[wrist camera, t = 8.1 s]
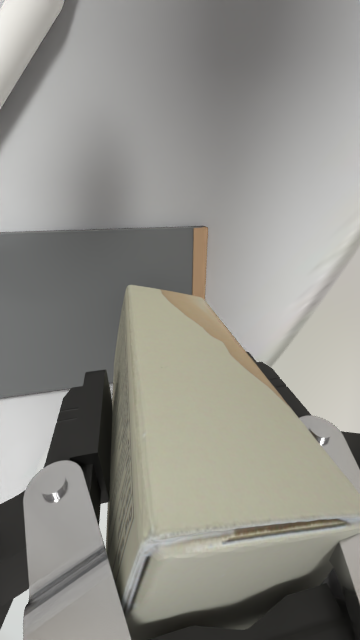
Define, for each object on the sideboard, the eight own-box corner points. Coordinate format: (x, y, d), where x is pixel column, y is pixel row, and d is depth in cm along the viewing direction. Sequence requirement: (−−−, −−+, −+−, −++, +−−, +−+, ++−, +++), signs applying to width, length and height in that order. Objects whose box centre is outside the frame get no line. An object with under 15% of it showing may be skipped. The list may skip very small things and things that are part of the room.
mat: (-128, 236, 12) (-141, 238, 11) (204, 225, 15) (208, 227, 14) (-41, 397, 16) (-48, 405, 16) (199, 365, 19) (201, 371, 19)
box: (181, 369, 16) (274, 644, 6) (111, 364, 15) (93, 695, 5) (205, 291, 14) (397, 525, 4) (125, 277, 13) (141, 562, 3)
